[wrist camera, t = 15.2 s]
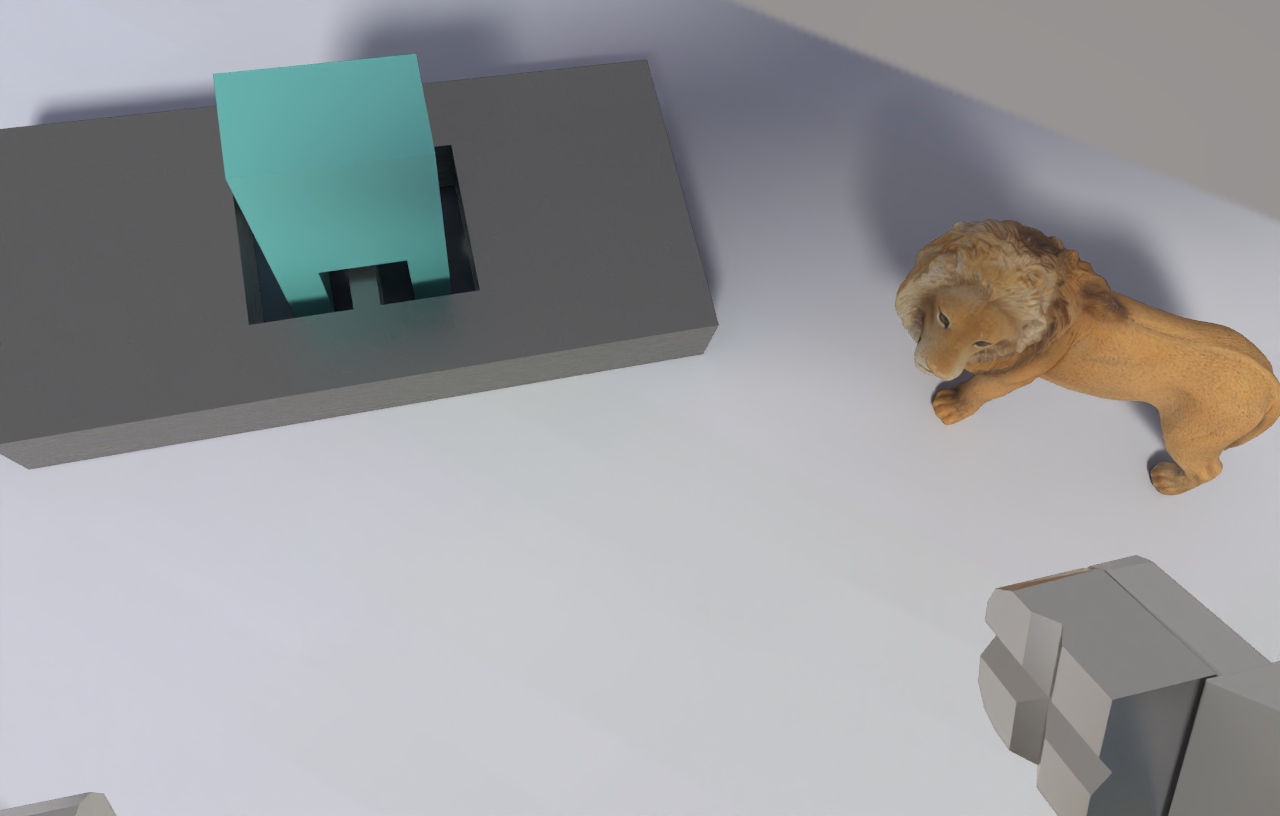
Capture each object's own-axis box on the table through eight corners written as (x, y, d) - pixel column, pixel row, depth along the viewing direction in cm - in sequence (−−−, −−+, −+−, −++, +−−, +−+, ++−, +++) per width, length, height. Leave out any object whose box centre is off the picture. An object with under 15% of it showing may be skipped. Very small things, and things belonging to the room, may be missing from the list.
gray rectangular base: (637, 103, 35) (646, 59, 33) (703, 353, 33) (718, 324, 30) (13, 176, 31) (-27, 132, 29) (29, 469, 29) (-14, 446, 26)
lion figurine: (824, 437, 32) (938, 336, 24) (836, 295, 34) (946, 154, 26) (1230, 511, 34) (1476, 440, 25) (1221, 371, 35) (1449, 260, 27)
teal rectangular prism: (437, 217, 33) (415, 53, 25) (451, 296, 32) (435, 153, 24) (285, 237, 32) (212, 73, 24) (296, 319, 31) (225, 178, 23)
